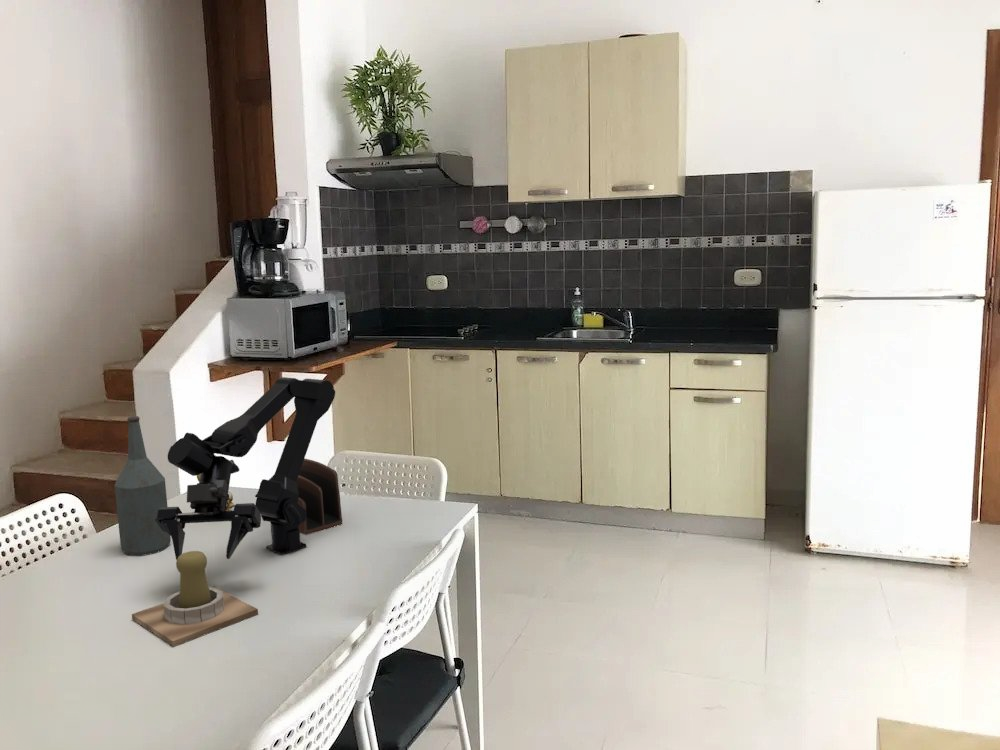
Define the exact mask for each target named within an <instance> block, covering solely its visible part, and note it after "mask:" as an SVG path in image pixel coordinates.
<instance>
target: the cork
mask: <svg viewBox="0 0 1000 750" xmlns="http://www.w3.org/2000/svg"><path fill="white" fill-rule="evenodd" d="M207 564H208V558H207V556H206V554H205V553H204V552H202V551H199V550H191V551H187V552H182V554H181V555H180V556H179V557H178V559H177V560H176V562H175V566H176V569H177V571H178V573H179V574H180V576H179V592H180V593H179V608H185V609H186V608H193V607H199V606H202V605H205V604H208V603H210V602H212V599H211V594H210V590H209V587H210V586H209V583H208V579H207V574H206V568H207Z"/></svg>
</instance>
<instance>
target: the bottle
mask: <svg viewBox="0 0 1000 750" xmlns="http://www.w3.org/2000/svg"><path fill="white" fill-rule="evenodd" d="M140 419H141V418H140V416H137V415H134V416H129V417H127V419H126V420H127V422H128V427H127V428H128V434H127V435H128V436H127V437H128V439H127V441H128V444H127V447H128V448H127V449H128V451H127V453H128V455H127V456H128V457H127V460H126V462H125V465H124V466H123V468H122V470H121V472H120V474H119V476H118V478H117V479H116V481H115V484H114V494H115V495H114V496H115V504H116V505H115V506H116V513H117V515H116V516H117V524H118V531H119V541H120V549H121V550H122V552H124V553H125V554H127V555H128V554H129V555H128V556H145V554H146V555H151V554H150V553H152V554H155V553H159V552H162V551H163V550H165V549H166V548H168V547H169V546H170V544H171V540H172V537H171V536H170V535H169V534H168V533H167V532H164V531H162V529H161V528H160V527H159V525H158V524H157V522H156V521H155V515H156V512H157V511H158V510H159V509H160V508H161V507H169V506H168V498H167V488H166V487H167V485H166V479H165V476H164V475H162V473H161V472H160V470H158V468H157V467H156V466H155V465H154V464H153V462H152V461H151V460H150V458H148V457H147V456H148V455H147V453H146V452H147V451H146V448H145V443H144V442H145V441H144V438H143V433H142V429H141V425H140ZM161 550H162V551H161ZM158 551H159V552H158Z"/></svg>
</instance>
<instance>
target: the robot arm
mask: <svg viewBox="0 0 1000 750" xmlns="http://www.w3.org/2000/svg"><path fill="white" fill-rule="evenodd" d="M335 397H336V390H335V387H334V385H333V383H332V382H331V381H330V380H328V379H327V380H326V379H318V378H304V379H302V380H301V379H298V378H294V377H284V376H282V377H279V378H278V379H276V381H275V383H274V384H273V385H272V386H271V387H270V388H269V389H268V390H267V391H266V392H265V393H264V394H263V395H262V396H261V397H260V398H258V399H257V400H256V401H255V402H254V403H253V404H252V405H251V406H250V407H249V408H248V409H247V410H246V411H245V412H244V413H242V414H241V415H239V416H238V417H235V418H233V419H230V420H227V421H226V422H224V423H223V424H221V425H220V426H218V427H217V428H216V429H214V430H213V432H212V433H211V435H209V436H207V437H205V438H204V439H201V438H199V436H198V435H196V434H195V433H191V432H186V433H184V435H183V437H182V438H179V439H178V440H177V441H176V442H174V443H173V445H171V446H170V447H169V450H168V451H167V461H168V463H169V464H172V465H173V466H175V467H176V468H178V469H180V470H181V471H184V472H186V473H187V474H188V475H191V476H193V477H195V476H196V477H197V475H199V474H200V480H199V481H198V483H196V484H187V486H186V487H187V488H186V490H187V491H186V503H188V504H189V503H190V505H189V507H190V509H191V510H194V512H182V510H181V508H180V507H179V506H168V507H161V508H160V509H159V510H158V511H157V512H156V515H155V521H156V522H157V524H158V525H159V527H160V528H161V529H162V531H164V532H167V533H168V534H169V535H170V537H171V540H172V546H173V551H174V554H175V560H176V561H177V559H178V557H179V556H180V555H181V554H183V549H184V543H185V536H186V532H185V531H184V529H185V527H186V524H197V523H218V522H219V523H220V522H230V523H231V525H230V532H229V537H228V541H227V545H226V555H225V557H226V559H227V560H228V559H231V557H232V555H233V554H234V552H235V551H236V550H237V547H239V544H241V542H242V540H244V538H245V537H246V536H247V534H248V533H250V532H251V533H252V532H253V531H254V529H258V528H260V527H261V523H262V521H263V522H269V523H270V533H271V534H270V535H271V544H268V545H265V548H266V549H267V550H269V551H271V552H274V553H276V554H279V555H285V554H288V553H291V552H294V551H297V550H301V549H303V548H306V547H307V544H306V543H303V542H302V541H301V535H300V534H301V532H300V531H299V525H300V524H301V523H302V522H304V521H305V520H306V515H307V511H306V510H305V509H304V508H302V507H301V506H300V505H299V504H297V501H298V496H299V493H298V487H297V478H298V475H299V472H300V470H301V467H302V464H303V461H304V458H305V459H306V454H307V452H308V449H309V446H310V444H311V441H312V438H313V435H314V433H315V429H316V426H317V424H318V421H320V419H321V418H322V417H323V416H324V415H325V414H326V413H327V412H329V409H330V408H331V406H332V404H333V401H334V400H335ZM291 400H293V402H294V409H295V416H294V419H293V421H292V424H291V428H290V430H289V433H288V436H287V439H286V441H285V444H284V447H283V450H282V452H281V454H280V458H279V460H278V463H277V466H276V469H275V472H274V473H273V475H272V476H271V477H270V478H269V479H264V478H263V479H261V481H260V483H259V484H260V485H259V488H258V491H257V493H256V494H255V495H254V498H255V503H254V502H252V503H251V502H250V503H248V502H247V503H236V504H234V505H235V506H234V507H233V510H229V511H226V505H227V500H229V494H228V491H229V489H230V484H231V483H230V481H231V475H233V474H234V473H235V474H236V473H238V472H240V467H239V465H237V464H236V462H235V461H234V459H228V458H227V457H225V456H228V457H233V458H242V457H245V456H246V455H247V454H248V453H249V452H250V450H251V449H253V446H254V445H255V444H256V442H257V440H258V435H259V433H260V431H261V430H262V429H264V427H265V426H266V425H267V424H268V423H269V422H270V421H271V420H272V419H273V418H274V417H275V416H276V415H277V414H279V412H281V410H282V409H284V407H285V406H287V405H288V404H289V403H290V402H291ZM215 454H216V455H215Z"/></svg>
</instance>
